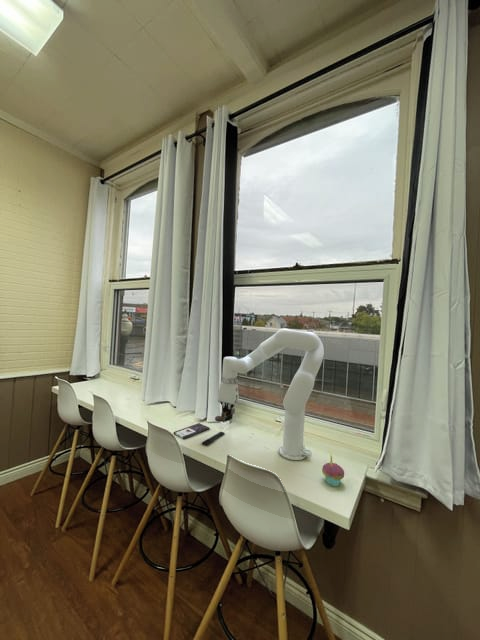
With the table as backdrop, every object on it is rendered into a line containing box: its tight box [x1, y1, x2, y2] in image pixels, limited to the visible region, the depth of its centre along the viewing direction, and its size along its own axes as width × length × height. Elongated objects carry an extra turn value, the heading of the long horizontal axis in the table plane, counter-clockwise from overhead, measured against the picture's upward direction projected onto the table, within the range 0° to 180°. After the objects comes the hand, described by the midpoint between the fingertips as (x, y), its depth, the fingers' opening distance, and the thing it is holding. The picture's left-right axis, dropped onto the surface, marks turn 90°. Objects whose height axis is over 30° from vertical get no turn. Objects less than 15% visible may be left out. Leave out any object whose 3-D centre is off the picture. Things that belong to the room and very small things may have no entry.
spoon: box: [214, 407, 236, 423], centre depth 137 cm, size 16×5×3 cm, turn 151°
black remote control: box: [201, 431, 225, 447], centre depth 140 cm, size 17×3×1 cm, turn 150°
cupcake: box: [321, 454, 345, 487], centre depth 107 cm, size 9×8×12 cm
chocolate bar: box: [173, 422, 210, 440], centre depth 147 cm, size 9×1×18 cm
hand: (227, 415), depth 138 cm, fingers closed on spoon
